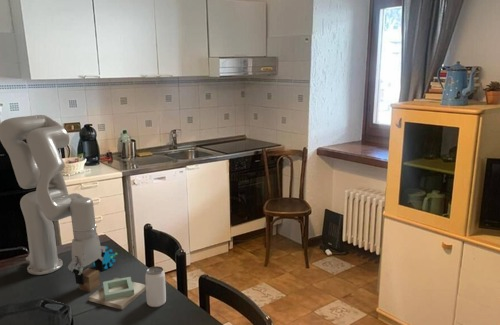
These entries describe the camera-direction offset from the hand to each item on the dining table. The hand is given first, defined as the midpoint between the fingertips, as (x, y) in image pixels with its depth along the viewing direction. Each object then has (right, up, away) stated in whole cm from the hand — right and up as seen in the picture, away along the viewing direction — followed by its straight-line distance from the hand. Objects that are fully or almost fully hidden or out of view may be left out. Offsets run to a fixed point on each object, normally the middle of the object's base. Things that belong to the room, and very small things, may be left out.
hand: (90, 277), depth 149 cm
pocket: (+11, -4, -4) cm, 13 cm away
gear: (-1, 0, +17) cm, 17 cm away
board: (+11, -5, -3) cm, 13 cm away
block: (-1, -4, +1) cm, 4 cm away
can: (+26, -7, -8) cm, 28 cm away
